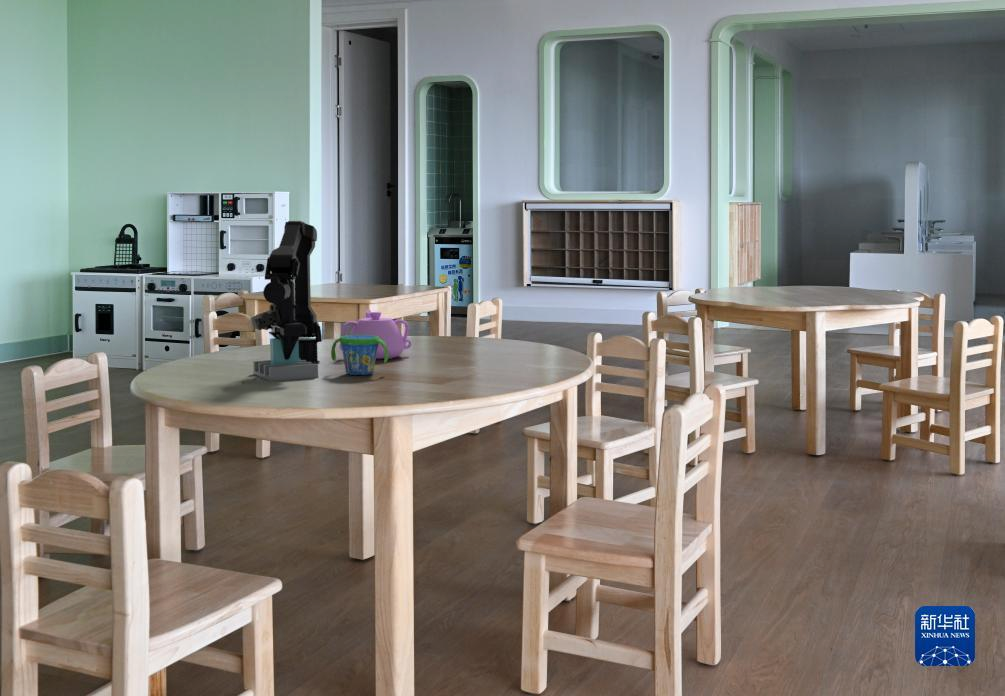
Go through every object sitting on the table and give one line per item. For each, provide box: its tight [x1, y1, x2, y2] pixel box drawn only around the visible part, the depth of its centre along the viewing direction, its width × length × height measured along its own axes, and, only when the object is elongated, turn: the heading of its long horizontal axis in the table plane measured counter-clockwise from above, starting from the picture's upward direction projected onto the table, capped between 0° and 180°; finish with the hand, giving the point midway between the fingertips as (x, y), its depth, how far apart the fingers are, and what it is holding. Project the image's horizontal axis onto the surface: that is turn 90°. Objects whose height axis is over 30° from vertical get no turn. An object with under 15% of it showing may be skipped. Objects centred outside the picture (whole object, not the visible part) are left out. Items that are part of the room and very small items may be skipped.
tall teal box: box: [269, 337, 299, 365], centre depth 291 cm, size 7×2×8 cm, turn 120°
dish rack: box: [252, 358, 319, 382], centre depth 291 cm, size 13×15×4 cm
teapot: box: [339, 309, 413, 360], centre depth 330 cm, size 22×22×14 cm
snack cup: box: [330, 334, 389, 376], centre depth 294 cm, size 16×10×10 cm
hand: (285, 358), depth 291 cm, fingers closed on tall teal box, 2 cm apart
